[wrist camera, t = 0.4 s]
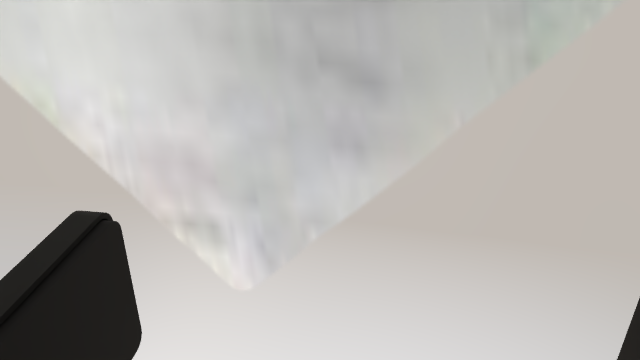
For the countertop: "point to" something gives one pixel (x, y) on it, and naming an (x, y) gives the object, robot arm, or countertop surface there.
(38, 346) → the robot arm
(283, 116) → the countertop surface
